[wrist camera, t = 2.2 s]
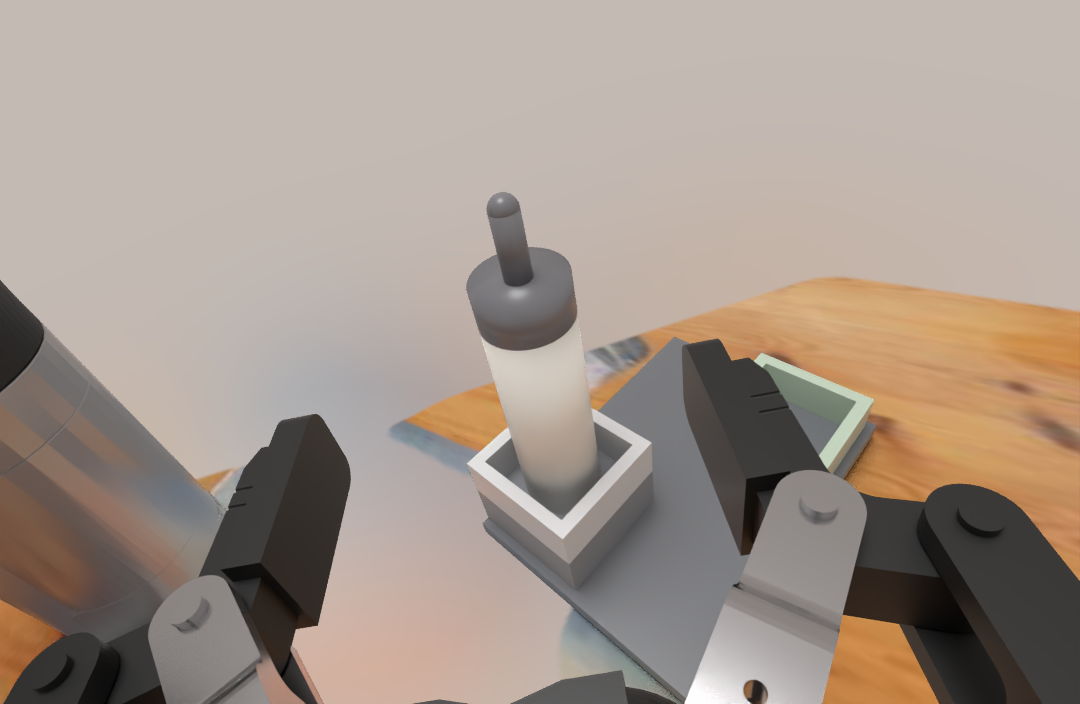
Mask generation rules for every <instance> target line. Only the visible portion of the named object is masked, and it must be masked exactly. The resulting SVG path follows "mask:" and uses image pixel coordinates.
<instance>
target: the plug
mask: <svg viewBox="0 0 1080 704" xmlns="http://www.w3.org/2000/svg"><path fill="white" fill-rule="evenodd" d="M487 215H488V219H489V222H490V227H491V231H492V235H493V239H494V243H495V247H496V252H497V255H494V256H492V257H490V258H489V259H487V260H485V261H484V262H482V263H481V264H480V265H478V266H477V268H476V269H474V271H473V272H472V273H471V275H470V276H469V278H468V281H467V287H466V288H467V293H468V297H469V300H470V303H471V306H472V310H473V313H474V316H475V320H476V323H477V326H478V329H479V333H480V336H481V339H482V343H483V346H484V349H485V353H486V356H487V359H488V362H489V365H490V369H491V372H492V375H493V379H494V382H495V385H496V389H497V392H498V395H499V398H500V402H501V405H502V408H503V412H504V415H505V418H506V421H507V425H508V428H509V431H510V435H511V438H512V441H513V444H514V448H515V451H516V454H517V458H518V461H519V464H520V467H521V471H522V474H523V477H524V481H525V484H526V487H527V490H528V493H529V496H530V497H532V498H533V499H534V500H536V501H537V502H538V503H540V504H541V505H542V506H544V507H545V508H546V509H548V510H549V511H550V512H551V513H557V514H566V513H569V512H570V511H571V510H572V509H573V508H574V507H575V506H576V504H577V503H578V502H579V501H580V500H581V499H582V498H583V497H584V496H585V495H586V494H587V493H588V492H589V491H590V490H591V489H592V488H593V486H594V485H595V484H596V483H597V482H598V481H599V480H600V479H601V471H600V464H599V457H598V451H597V444H596V437H595V430H594V423H593V416H592V409H591V402H590V395H589V388H588V381H587V374H586V367H585V360H584V353H583V347H582V340H581V333H580V327H579V319H578V313H577V305H576V298H575V292H574V285H573V277H572V270H571V266H570V264H569V262H568V261H567V259H566V258H565V257H564V256H562V255H561V254H559V253H557V252H555V251H552V250H549V249H544V248H535V247H528V245H527V240H526V235H525V230H524V225H523V220H522V215H521V210H520V205H519V202H518V201H517V199H516V198H515V197H514V196H513V195H511V194H510V193H506V192H500V193H497V194H495V195H493V196H492V197H491V198H490V200H489V201H488V204H487Z"/></svg>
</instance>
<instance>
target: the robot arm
mask: <svg viewBox="0 0 1080 704" xmlns="http://www.w3.org/2000/svg"><path fill="white" fill-rule="evenodd" d="M682 371H683V398H684V405H685V411H686V415H687V419H688V422H689V425H690V427H691V430H692V433H693V435H694V438H695V440H696V443H697V445H698V448H699V451H700V453H701V456H702V458H703V461H704V463H705V466H706V468H707V471H708V474H709V476H710V479H711V481H712V484H713V486H714V489H715V491H716V494H717V497H718V499H719V502H720V504H721V507H722V509H723V512H724V515H725V517H726V520H727V522H728V525H729V527H730V530H731V532H732V535H733V538H734V540H735V543H736V545H737V548H738V550H739V553H740V555H741V556H743V555H749V554H750V555H749V558H748V561H747V563H746V566H745V568H744V571H743V573H742V576H741V578H740V580H739V582H738V583H737V584H734V585H733V586H732V588H731V589H730V591H729V593H728V596H727V598H726V600H725V603H724V605H723V608H722V610H721V613H720V615H719V618H718V620H717V623H716V625H715V628H714V630H713V633H712V636H711V638H710V641H709V643H708V646H707V648H706V651H705V653H704V656H703V658H702V661H701V663H700V666H699V668H698V671H697V674H696V676H695V679H694V681H693V684H692V686H691V689H690V691H689V694H688V696H687V699H686V701H685V704H822V701H823V697H824V693H825V689H826V685H827V681H828V676H829V672H830V668H831V664H832V660H833V656H834V652H835V648H836V644H837V640H838V635H839V630H840V629H839V628H840V623H841V619H842V615H848V616H854V617H860V618H866V619H872V620H879V621H885V622H891V623H897V624H899V625H900V627H901V629H902V631H903V633H904V635H905V637H906V639H907V641H908V643H909V645H910V647H911V648H912V650H913V652H914V654H915V656H916V658H917V660H918V662H919V664H920V666H921V668H922V670H923V672H924V674H925V676H926V678H927V680H928V682H929V684H930V686H931V688H932V690H933V692H934V694H935V696H936V698H937V700H938V702H939V704H1080V581H1079V580H1078V578H1077V577H1076V576H1075V575H1074V573H1073V572H1072V571H1071V570H1070V568H1069V567H1068V566H1067V565H1066V563H1065V562H1064V561H1063V560H1062V558H1061V557H1060V556H1059V555H1058V553H1057V552H1056V551H1055V550H1054V548H1053V547H1052V546H1051V545H1050V543H1049V542H1048V541H1047V540H1046V538H1045V537H1044V536H1043V535H1042V533H1041V532H1040V531H1039V530H1038V528H1037V527H1036V526H1035V525H1034V523H1033V522H1032V521H1031V520H1030V518H1029V517H1028V516H1027V515H1026V514H1025V513H1024V511H1023V510H1022V509H1021V508H1020V507H1018V506H1017V505H1016V504H1015V503H1014V502H1012V501H1011V500H1009V499H1008V498H1006V497H1004V496H1002V495H1000V494H999V493H997V492H994V491H992V490H989V489H986V488H983V487H980V486H975V485H970V484H950V485H945V486H942V487H940V488H938V489H936V490H934V491H933V492H932V493H931V494H930V495H929V496H928V498H927V500H926V502H918V501H908V500H899V499H889V498H881V497H874V496H870V495H867V494H863V493H861V492H858V491H857V490H856V489H855V488H854V487H853V486H852V485H851V484H849V483H848V482H847V481H845V480H844V479H842V478H840V477H838V476H836V475H833V474H831V473H830V472H829V471H828V469H827V468H826V466H825V465H824V463H823V462H822V460H821V458H820V457H819V455H818V453H817V452H816V450H815V448H814V447H813V445H812V443H811V442H810V440H809V438H808V437H807V435H806V433H805V432H804V430H803V428H802V427H801V425H800V423H799V422H798V420H797V419H796V417H795V415H794V414H793V412H792V410H790V409H789V405H788V404H787V402H786V400H785V399H784V397H783V395H782V394H780V390H779V389H778V387H777V385H776V384H775V382H774V380H773V379H772V377H771V375H770V374H769V372H768V371H766V370H765V369H764V368H762V367H761V366H760V365H758V364H757V363H755V362H754V361H753V360H751V359H750V358H744V359H739V360H733V361H731V359H730V357H729V355H728V353H727V351H726V350H725V348H724V346H723V344H722V342H721V341H720V340H719V339H713V340H708V341H702V342H697V343H692V344H687V345H683V347H682ZM350 477H351V476H350V468H349V464H348V461H347V459H346V457H345V455H344V453H343V452H342V450H341V448H340V447H339V445H338V443H337V442H336V440H335V438H334V437H333V435H332V434H331V432H330V430H329V429H328V427H327V425H326V424H325V422H324V420H323V419H322V418H321V417H320V416H319V415H317V414H312V415H307V416H302V417H297V418H291V419H286V420H282V421H281V422H280V423H279V424H278V425H277V428H276V430H275V432H274V435H273V437H272V440H271V443H270V445H269V447H264V448H261V449H260V450H259V451H258V453H257V454H256V455H255V456H254V457H253V459H252V460H251V461H250V462H249V463H248V464H247V466H246V467H245V468H244V470H243V473H242V475H241V477H240V480H239V482H238V484H237V487H236V493H234V494H233V496H232V499H231V501H230V503H229V506H228V507H229V510H228V511H226V510H225V509H224V508H223V507H222V506H221V505H220V504H219V502H218V501H217V500H216V499H215V498H214V497H213V496H212V495H211V494H210V493H209V492H207V491H206V490H205V489H204V488H203V487H202V485H201V484H200V483H199V482H198V481H197V480H196V479H195V478H194V477H193V476H192V475H191V474H190V473H189V472H188V471H187V470H186V469H185V468H184V467H183V466H182V465H181V464H180V463H179V462H178V461H177V460H176V459H175V458H174V457H173V456H172V455H171V454H170V453H169V452H168V451H167V450H166V449H165V448H164V447H163V446H162V445H161V444H160V443H159V442H158V441H157V439H156V438H154V436H153V435H151V434H150V432H149V431H148V430H147V429H146V428H145V427H144V426H143V425H142V424H141V423H140V422H139V421H138V420H137V419H136V418H135V417H134V416H133V415H132V414H131V413H130V412H129V411H128V410H127V409H126V408H125V407H124V406H123V405H122V404H121V403H120V402H119V401H118V400H117V399H116V398H115V397H114V396H113V395H112V394H111V393H110V392H109V391H108V390H107V389H106V388H105V387H104V386H103V385H102V384H101V382H99V381H98V379H97V378H96V377H95V376H94V375H93V374H91V372H90V371H89V370H88V369H87V368H86V367H85V366H84V365H83V364H82V363H81V362H80V361H79V360H78V359H77V358H76V357H75V356H74V355H73V354H72V353H71V352H70V351H69V350H68V349H67V348H66V347H65V346H64V345H63V344H62V343H61V342H60V341H59V340H58V339H57V338H56V337H55V336H54V335H53V334H52V333H51V332H50V331H49V330H48V329H47V328H46V327H45V326H44V325H43V323H41V322H40V321H39V320H38V319H37V318H36V317H35V316H34V315H33V314H32V313H31V312H30V311H29V310H28V309H27V308H26V307H25V306H24V305H23V304H22V303H21V302H20V301H19V300H18V299H17V298H16V297H15V296H14V294H13V293H11V291H10V290H9V289H8V288H7V287H6V286H5V285H4V284H3V283H2V282H1V280H0V599H1V600H2V601H4V602H6V603H8V604H10V605H12V606H13V607H15V608H17V609H19V610H21V611H23V612H25V613H26V614H28V615H30V616H32V617H34V618H36V619H37V620H39V621H41V622H43V623H45V624H47V625H49V626H50V627H52V628H54V629H56V630H58V631H60V632H61V633H63V634H65V635H67V636H66V637H64V638H62V639H60V640H58V641H56V642H55V643H53V644H52V645H50V646H49V647H47V648H46V649H45V650H44V651H42V652H41V653H40V654H39V655H38V656H37V657H36V658H35V659H33V660H32V661H31V663H30V664H29V665H28V666H27V667H26V668H25V669H24V671H23V672H22V673H21V675H20V676H19V678H18V679H17V681H16V683H15V684H14V686H13V688H12V690H11V691H10V693H9V695H8V697H7V699H6V701H5V702H4V704H324V703H323V701H322V699H321V697H320V695H319V693H318V691H317V689H316V688H315V686H314V684H313V682H312V680H311V678H310V676H309V674H308V672H307V670H306V668H305V666H304V664H303V662H302V660H301V659H300V657H299V655H298V653H297V651H296V650H295V648H294V647H293V646H292V642H293V637H294V633H295V630H296V629H300V628H306V627H312V626H318V622H319V618H320V613H321V609H322V604H323V600H324V596H325V592H326V588H327V583H328V579H329V575H330V570H331V566H332V561H333V557H334V553H335V548H336V544H337V540H338V536H339V531H340V527H341V522H342V518H343V514H344V509H345V505H346V500H347V496H348V492H349V487H350V480H351V478H350ZM415 704H466V703H459V702H452V701H446V700H434V701H427V702H421V703H415ZM511 704H676V703H675V702H673V701H671V700H669V699H667V698H664V697H662V696H660V695H658V694H655V693H652V692H648V691H645V690H641V689H636V688H629V687H625V682H624V678H623V673H622V670H621V671H615V672H609V673H603V674H596V675H590V676H584V677H578V678H571V679H565V680H561V681H559V682H556V683H554V684H552V685H550V686H548V687H546V688H544V689H541V690H539V691H537V692H535V693H533V694H531V695H528V696H526V697H524V698H522V699H520V700H518V701H516V702H513V703H511Z"/></svg>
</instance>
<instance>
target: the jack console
mask: <svg viewBox="0 0 1080 704" xmlns="http://www.w3.org/2000/svg"><path fill="white" fill-rule="evenodd" d="M687 344H690V343H687V342H685V341H683V340H680V339H678V338H676V337H674V338H673V339H672V340H671V341H670V342H669V343H668V344H667V345H666V346H664V347H663V348H662V349H661V350H660V351H659V352H658V353H657V354H656V355H655V356H654V357H653V358H652V359H651V360H650V361H649V362H648V363H647V364H646V365H645V366H644V367H643V368H642V369H641V370H640V371H639V372H638V373H637V374H636V375H635V376H634V377H633V378H632V379H631V380H630V381H629V382H627V383H626V384H625V385H624V386H623V387H622V388H621V389H620V390H619V391H618V392H617V393H616V394H615V395H614V396H613V397H612V398H611V399H610V400H609V401H608V402H607V403H606V404H605V405H604V406H603V407H602V408H601V409H600V410H599V411H596V410H595V409H593V408H591V409H592V416H593V423H594V430H595V437H596V444H597V451H598V457H599V464H600V471H601V479H600V480H599V481H598V482H597V483H596V484H595V485H594V486H593V488H592V489H591V490H590V491H589V492H588V493H587V494H586V495H585V496H584V497H583V498H582V499H581V500H580V501H579V502H578V503H577V504H576V506H575V507H574V508H573V509H572V510H571V511H570V512H569V513H566V514H557V513H551V512H550V511H549V510H548V509H546V508H545V507H544V506H542V505H541V504H540V503H538V502H537V501H536V500H534V499H533V498H532V497H530V496H529V493H528V490H527V487H526V484H525V481H524V477H523V474H522V471H521V467H520V464H519V461H518V458H517V454H516V451H515V448H514V444H513V441H512V438H511V435H510V431H509V428H508V427H507V428H506V429H505V430H504V431H503V432H502V433H501V434H499V435H498V436H497V437H496V438H495V439H494V440H493V441H492V442H490V443H489V444H488V445H487V446H486V447H485V448H484V449H483V450H482V451H480V452H479V453H478V454H477V455H476V456H475V457H474V458H473V459H471V460H470V461H469V462H468V463H467V466H468V468H469V471H470V473H471V475H472V478H473V480H474V483H475V485H476V488H477V490H478V492H479V495H480V498H481V500H482V502H483V505H484V507H485V509H486V512H487V515H488V517H489V518H488V519H487V520H486V521H485V522H484V523H483V525H484V528H485V530H486V532H487V533H488V534H489V535H490V536H492V537H493V538H494V539H495V540H496V541H497V542H499V543H500V544H501V545H502V546H503V547H504V548H506V550H508V551H509V552H510V553H511V554H512V555H513V556H515V557H516V558H517V559H518V560H519V561H520V562H521V563H523V564H524V565H525V566H526V567H527V568H528V569H530V570H531V571H532V572H533V573H534V574H535V575H536V576H538V577H539V578H540V579H541V580H542V581H543V582H545V583H546V584H547V585H548V586H549V587H550V588H551V589H553V590H554V591H555V592H556V593H557V594H558V595H559V596H561V597H562V598H563V599H564V600H565V601H566V602H567V603H569V604H570V605H571V606H572V607H573V608H574V609H576V610H577V611H578V612H579V613H580V614H581V615H582V616H584V617H585V618H586V619H587V620H588V621H589V622H590V623H592V624H593V625H594V626H595V627H596V628H597V629H599V630H600V631H601V632H602V633H603V634H604V635H605V636H607V637H608V638H609V639H610V640H611V641H612V642H614V643H615V644H616V645H617V646H618V647H619V648H620V649H622V650H623V651H624V652H625V653H626V654H627V655H628V656H630V657H631V658H632V659H633V660H634V661H635V662H637V663H638V664H639V665H640V666H641V667H642V668H643V669H645V670H646V671H647V672H648V673H649V674H650V675H651V676H653V677H654V678H655V679H656V680H657V681H658V682H660V683H661V684H662V685H663V686H664V687H665V688H666V689H668V690H669V691H670V692H671V693H672V694H673V695H675V696H676V697H677V698H678V699H679V700H680V701H681V702H683V703H684V704H685V701H686V699H687V696H688V694H689V691H690V689H691V686H692V684H693V681H694V679H695V676H696V674H697V671H698V668H699V666H700V663H701V661H702V658H703V656H704V653H705V651H706V648H707V646H708V643H709V641H710V638H711V636H712V633H713V630H714V628H715V625H716V623H717V620H718V618H719V615H720V613H721V610H722V608H723V605H724V603H725V600H726V598H727V596H728V593H729V591H730V589H731V588H732V586H733V585H734V584H737V583H738V582H739V580H740V578H741V576H742V573H743V571H744V568H745V566H746V563H747V561H748V558H749V555H750V554H749V555H743V556H741V555H740V553H739V550H738V548H737V545H736V543H735V540H734V538H733V535H732V532H731V530H730V527H729V525H728V522H727V520H726V517H725V515H724V512H723V509H722V507H721V504H720V502H719V499H718V497H717V494H716V491H715V489H714V486H713V484H712V481H711V479H710V476H709V474H708V471H707V468H706V466H705V463H704V461H703V458H702V456H701V453H700V451H699V448H698V445H697V443H696V440H695V438H694V435H693V433H692V430H691V427H690V425H689V422H688V419H687V415H686V411H685V405H684V398H683V371H682V347H683V345H687ZM754 362H755V363H757V364H758V365H760V366H761V367H762V368H764V369H765V370H766V371H768V372H769V374H770V375H771V377H772V379H773V380H774V382H775V384H776V385H777V387H778V389H779V390H780V394H782V395H783V397H784V399H785V400H786V402H787V404H788V405H789V409H790V410H792V412H793V414H794V415H795V417H796V419H797V420H798V422H799V423H800V425H801V427H802V428H803V430H804V432H805V433H806V435H807V437H808V438H809V440H810V442H811V443H812V445H813V447H814V448H815V450H816V452H817V453H818V455H819V457H820V458H821V460H822V462H823V463H824V465H825V466H826V468H827V469H828V471H829V472H830V473H831V474H833V475H836V476H838V477H840V478H842V479H845V477H846V476H847V474H848V473H849V471H850V470H851V468H852V467H853V465H854V463H855V462H856V460H857V459H858V457H859V456H860V454H861V453H862V451H863V450H864V448H865V447H866V445H867V444H868V442H869V440H870V439H871V437H872V436H873V433H874V431H875V428H876V425H874V424H872V423H870V422H867V419H868V416H869V413H870V410H871V408H872V405H873V402H874V399H871V398H869V397H867V396H864V395H862V394H859V393H857V392H855V391H852V390H850V389H847V388H845V387H843V386H840V385H838V384H835V383H833V382H830V381H828V380H826V379H823V378H821V377H818V376H816V375H814V374H811V373H809V372H806V371H804V370H802V369H799V368H797V367H794V366H792V365H790V364H787V363H785V362H782V361H780V360H777V359H775V358H773V357H770V356H768V355H765V354H763V353H761V354H760V355H759V356H758V357H757V358H756V359H755V361H754Z"/></svg>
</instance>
